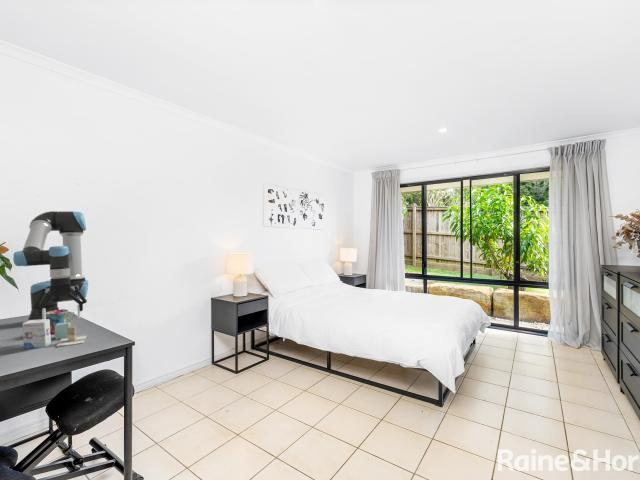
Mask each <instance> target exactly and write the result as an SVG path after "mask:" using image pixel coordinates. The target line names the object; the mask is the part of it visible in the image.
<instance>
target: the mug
mask: <svg viewBox="0 0 640 480" xmlns="http://www.w3.org/2000/svg"><path fill="white" fill-rule="evenodd" d="M71 313H72V314H73V316H72V317H71V319H70V320H68V321H67V318H66V317H68V315H70V314H71ZM46 316H47V318H48V319H49V320H50V334H55V325H56V324H58V323H65V322H71V321H72V320H73V319H74V318H75V312H73V311H70V312H69V310H68V309H63V308H62V309H59V310H54V311H49V312H46Z"/></svg>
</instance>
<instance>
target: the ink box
mask: <svg viewBox="0 0 640 480" xmlns="http://www.w3.org/2000/svg"><path fill="white" fill-rule="evenodd" d="M51 336H52V335H51V333H50V320H49V319H41V320H29V321H28V320H27V321H25V322H22V340H23V350H26V349H35V348H37V349H38V348H46V347H47V346H49V345H50V344H51V343H52V339H51Z"/></svg>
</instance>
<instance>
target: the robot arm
mask: <svg viewBox="0 0 640 480" xmlns="http://www.w3.org/2000/svg"><path fill="white" fill-rule="evenodd" d="M28 227H29V232H28V235H27V238H26V241H25V243H24V246H23V249H22V250H18V251H17V250H16V251H15V252H14V253H13V259H12V260H13V264H14V265H15V266H16V267H30V266H31V267H32V266H48V265H49V277H50V280H46V281H41V282H36V283H33V284H32V285H31V286H30V293H29V294H30V306H31V310H30V313H29V316H28V319H27V321H29V320H41V319H48V318H47V316H46V312H49V311H54V310H60V308H59V305H58V303H59V302H70V301H74V302H75V303H77V306H76V307H77V319H80V318H81V317H82V316H81V312H83V310H84V304H87V302H88V300H87V299H86V297H87V295H88V289H89V279H86V276H85V275H83V270H82V269H83V267H82V266H83V265H82V243H81V240H82V239H81V237H82V236H83V235H84V231H86V230H87V225H86V221H85V216H84V213H82V212H81V211H65V210H64V211H63V210H62V211H55V210H53V211H52V210H51V211H46V212H43V213H40V214H39V215H37V216H35V217H34V218H33V219H32V220H31V221H30V223H29V226H28ZM57 231H58V234H59V235H60V236H61V237H62V245H58V246H56V245H54V246H50V247H49V249H46V250H45V249H44V248H45V244H46V241H47V238H48V235H49V233H51V232H57Z"/></svg>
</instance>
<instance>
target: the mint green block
mask: <svg viewBox="0 0 640 480" xmlns="http://www.w3.org/2000/svg"><path fill="white" fill-rule="evenodd" d="M70 326H71V321H69V322H68V321H66V322H65V323H58V324H56V325H55V333H54V338H55V340H57V341H58V340H61V339H63V338H68V331H67V328H68V327H70Z"/></svg>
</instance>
